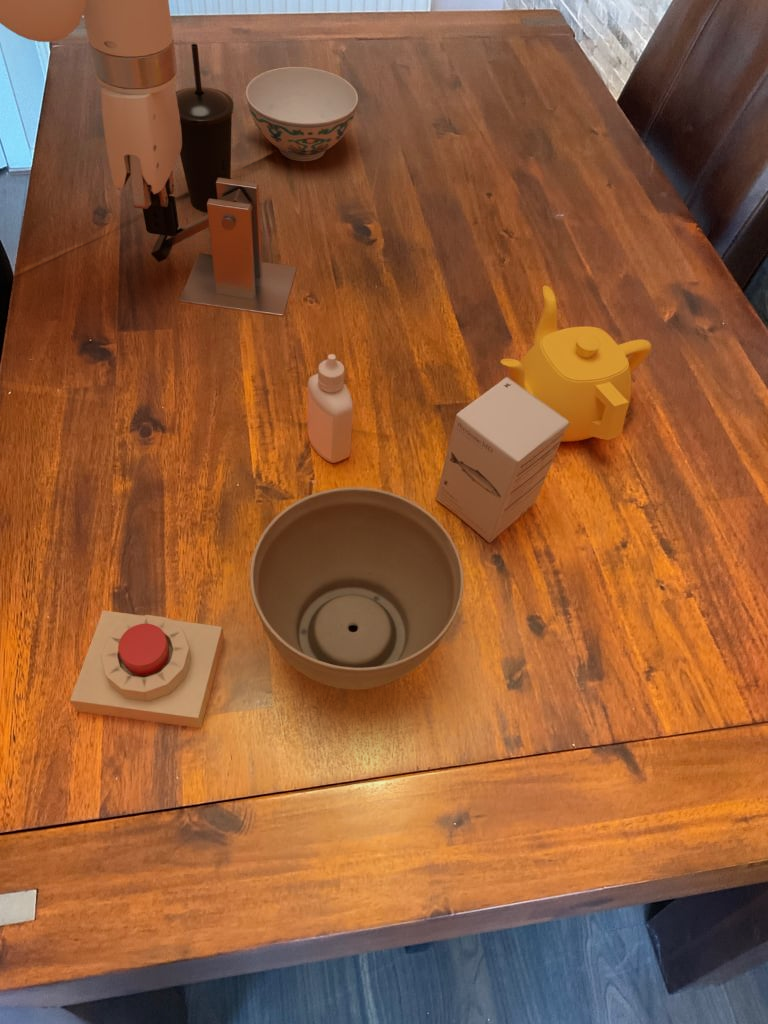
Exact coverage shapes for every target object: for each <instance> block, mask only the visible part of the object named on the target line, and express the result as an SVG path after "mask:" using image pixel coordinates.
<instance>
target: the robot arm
mask: <svg viewBox="0 0 768 1024" xmlns="http://www.w3.org/2000/svg"><path fill="white" fill-rule="evenodd" d="M170 9H171V8H170V3H169V0H0V24H1V25H2V26H4V27H5V28H6V29H7V30H9V31H11V32H12V33H14V34H15V35H17V36H19V37H22V38H24V39H27V40H30V41H34V42H37V43H38V42H39V43H51V42H56V41H59V40H62V39H64V38H67V37H68V36H69V35H70V34H72V33H73V32H74V31H75V30H76V28H77V27H78V26H79V25H80V23H81V21H82V19H83V20H84V25H85V30H86V35H87V39H88V46H89V49H90V55H91V59H92V64H93V70H94V74H95V79H96V81H97V83H98V84H99V85H101V89H100V98H101V99H100V103H101V105H100V106H101V117H102V125H103V134H104V141H105V148H106V153H107V160H108V165H109V171H110V178H111V182H112V185H113V187H114V188H115V189H116V190H124V188H125V187H126V184H127V183H128V181H129V179H130V183H131V193H132V202H133V207H134V208H136V209H142V213H143V218H144V219H143V220H144V224H145V230H146V232H147V233H149V234H152V235H158V236H159V235H165V236H175V234H176V230H178V229H179V227H180V224H179V217H178V210H177V202H176V198H175V197H176V196H175V195H174V192H175V183H174V170H173V169H174V167H175V166H176V163H177V161H178V159H179V158H180V152H181V148H182V132H181V123H180V116H179V109H178V103H177V97H176V92H177V91H176V88H175V83H176V82H177V80H178V77H179V71H178V65H177V57H176V56H177V55H176V49H175V42H174V32H173V25H172V24H173V23H172V17H171V10H170Z"/></svg>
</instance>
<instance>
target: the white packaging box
mask: <svg viewBox="0 0 768 1024" xmlns="http://www.w3.org/2000/svg"><path fill="white" fill-rule="evenodd" d="M568 425H569V421H568V420H567V419H565V418H564V417H562V416H561V415H560V414H558V413H557V412H555V411H554V410H553V409H551V408H550V407H548V406H547V405H546V404H544V403H543V402H541V401H540V400H539V399H538V398H536V397H535V396H533V395H532V394H530V393H529V392H527V391H526V390H525V389H523V388H522V387H520V386H519V385H518V384H516V383H515V382H513V381H512V380H511V379H510V378H509V376H505V377H504V378H503V379H502V380H499V382H498V383H496V384H495V385H493V386H492V387H491V388H490V389H488V390H487V391H485V392H484V393H483V394H481V395H480V396H479V397H477V398H476V399H474V400H473V401H472V402H470V403H469V404H468V405H466V406H465V407H464V408H463V409H461V410H459V411H458V412H457V413H456V415H455V419H454V422H453V427H452V431H451V435H450V438H449V442H448V447H447V450H446V455H445V459H444V463H443V467H442V471H441V475H440V480H439V483H438V488H437V492H436V496H435V500H436V501H437V502H438V503H440V504H441V505H443V506H444V507H445V508H447V509H448V510H449V511H450V512H452V513H453V514H455V515H456V516H457V517H458V518H459V519H460V520H462V521H463V522H464V523H465V524H466V525H467V526H469V527H470V528H471V529H472V530H474V531H475V532H476V534H478V535H479V536H480V537H481V538H483V539H484V540H485V541H486V542H487V543H488V544H491V543H492V542H493V541H495V539H496V538H498V537H499V536H500V535H501V534H502V533H503V532H504V531H506V530H507V529H508V528H509V527H511V525H513V524H514V523H515V522H516V521H517V520H519V518H521V517H522V516H523V515H525V513H526V512H527V511H529V510H530V509H531V508H532V507H533V506H534V505H535V503H536V501H537V499H538V497H539V494H540V492H541V490H542V488H543V485H544V483H545V481H546V478H547V476H548V474H549V472H550V469H551V466H552V464H553V462H554V459H555V457H556V454H557V452H558V449H559V447H560V444H561V443H562V442H561V440H562V438H563V435H564V433H565V431H566V429H567V427H568Z"/></svg>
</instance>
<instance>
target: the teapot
mask: <svg viewBox="0 0 768 1024" xmlns="http://www.w3.org/2000/svg"><path fill="white" fill-rule="evenodd" d="M542 299H543V308H542V312H541V315H540V318H539V320H538V323H537V326H536V328H535V331H534V334H533V338H532V347H531V348H530V349H529V350H528V351H527V352H526V353H525V354H524V355H523V356H522V357H521V359H520V360H518V359H514V358H503V359H501V360H500V364H501V365H502V366H504V367H506V368H508V369H509V370H510V374H509V376H508V378H510V379H511V380H512V381H513V382H515V383H516V384H518V385H519V386H520V387H522V388H523V389H525V390H526V391H527V392H529V393H530V394H532V395H533V396H535V397H536V398H538V399H539V400H540V401H541V402H543V403H544V404H546V405H547V406H548V407H550V408H551V409H553V410H554V411H555V412H557V413H558V414H560V415H561V416H562V417H564V418H565V419H567V420H568V421H569V425H568V427H567V429H566V431H565V433H564V435H563V438H562V440H561V442H560V443H562V442H563V443H564V442H566V443H567V442H578V441H583V440H587V439H591V438H597V439H601V440H604V441H610V440H613V439H617V438H620V437H622V433H623V429H624V425H625V421H626V416H627V412H628V410H629V407H630V403H631V398H632V389H633V387H632V373H633V372H634V371H636V369H638V368H639V366H641V365H642V364H643V363H644V361H645V360H646V359H647V358H648V356H649V355H650V353H651V351H652V344H651V342H650V341H649V340H647V339H643V338H642V339H641V338H640V339H639V338H638V339H634V340H630V341H626V342H622V343H620V344H618V343H617V342H616V341H615V340H614V338H612V337H611V335H610V334H609V333H607V332H606V331H605V330H604V329H602V328H600V327H595V326H588V325H587V326H586V325H585V326H583V325H582V326H572V327H566V328H563V329H559V327H558V306H557V305H558V304H557V299H556V295H555V293H554V291H553V289H552V288H551V287H550V286H548V285H543V287H542ZM627 356H628V357H627Z"/></svg>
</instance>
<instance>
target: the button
mask: <svg viewBox="0 0 768 1024" xmlns="http://www.w3.org/2000/svg"><path fill="white" fill-rule="evenodd" d="M118 650H119V654H120V656H121V659H122V661H123V664H124V666H125V667H126V668H127V669H128V670H129V671H130V672H132V673H134V674H137V675H149V674H152V673H155V672H157V671H158V670H160V669H161V668H162V667H163V666H164V665H165V663H166V662H167V660H168V657H169V646H168V642H167V639H166V636H165V634H164V632H163V631H162V630H161V629H160V628H159V627H157V626H155V625H152V624H139V625H136V626H133V627H131V628H130V629H128V630H127V631H126V632H125V633H124V634H123V635H122V637H121V639H120V641H119V646H118Z"/></svg>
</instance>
